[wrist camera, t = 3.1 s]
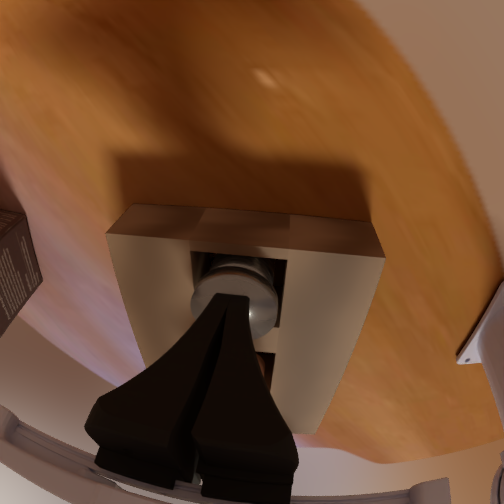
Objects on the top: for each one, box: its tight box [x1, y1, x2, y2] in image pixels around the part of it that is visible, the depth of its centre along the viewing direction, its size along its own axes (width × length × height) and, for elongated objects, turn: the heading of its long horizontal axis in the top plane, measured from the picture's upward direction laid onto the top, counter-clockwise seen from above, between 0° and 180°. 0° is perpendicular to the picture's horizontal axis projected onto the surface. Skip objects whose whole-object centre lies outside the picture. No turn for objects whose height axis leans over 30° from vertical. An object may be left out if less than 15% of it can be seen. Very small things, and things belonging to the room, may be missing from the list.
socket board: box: [105, 204, 386, 434], centre depth 19 cm, size 12×17×3 cm
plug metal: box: [190, 253, 278, 340], centre depth 14 cm, size 4×4×4 cm
